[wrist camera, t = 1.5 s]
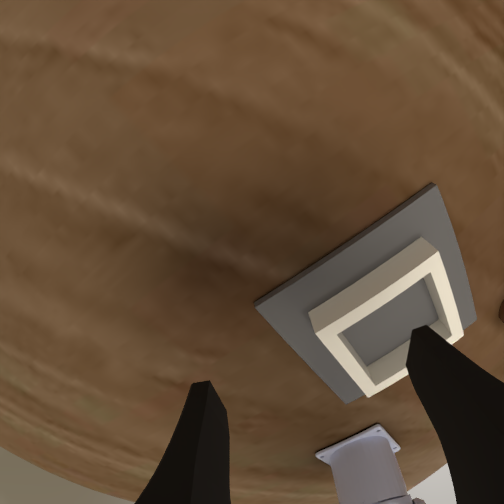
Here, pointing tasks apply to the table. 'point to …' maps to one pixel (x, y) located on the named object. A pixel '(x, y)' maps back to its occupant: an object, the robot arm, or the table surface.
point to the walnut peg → (501, 312)
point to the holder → (376, 298)
